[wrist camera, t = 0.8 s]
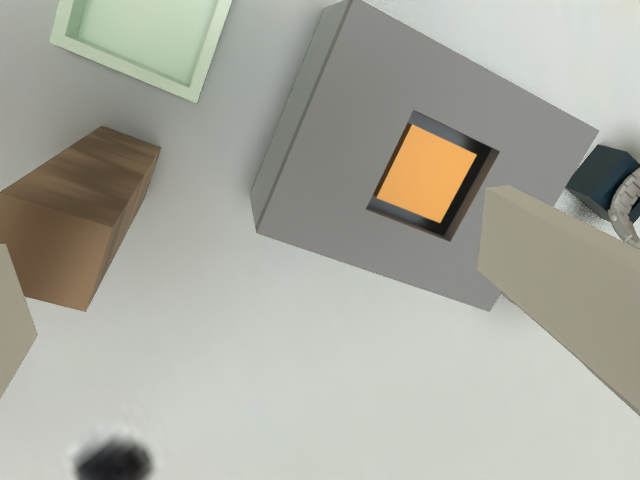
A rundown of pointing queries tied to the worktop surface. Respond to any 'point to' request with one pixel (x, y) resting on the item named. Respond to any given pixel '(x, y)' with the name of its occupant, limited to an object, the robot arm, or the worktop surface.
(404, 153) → the button
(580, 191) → the watch
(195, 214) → the worktop surface
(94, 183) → the brown wooden block
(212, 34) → the green square tray
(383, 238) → the grey box with hole
